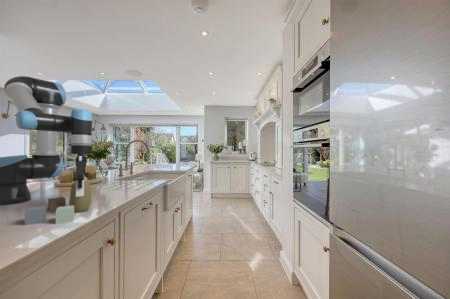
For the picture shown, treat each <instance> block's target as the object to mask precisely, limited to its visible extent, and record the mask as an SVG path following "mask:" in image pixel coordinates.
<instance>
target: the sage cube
mask: <svg viewBox="0 0 450 299" xmlns="http://www.w3.org/2000/svg"><path fill="white" fill-rule="evenodd" d="M74 220H75V212H74V205H73V206H70V205H67V206H66V205H65V206H63V207H58V208H57V209H56V211H55V225H58V223H59V224H64V223H65V224H67V223H72V222H74ZM66 222H67V223H66Z"/></svg>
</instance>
